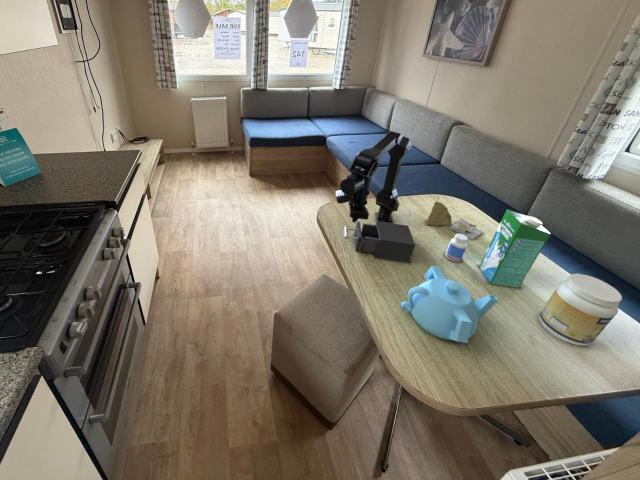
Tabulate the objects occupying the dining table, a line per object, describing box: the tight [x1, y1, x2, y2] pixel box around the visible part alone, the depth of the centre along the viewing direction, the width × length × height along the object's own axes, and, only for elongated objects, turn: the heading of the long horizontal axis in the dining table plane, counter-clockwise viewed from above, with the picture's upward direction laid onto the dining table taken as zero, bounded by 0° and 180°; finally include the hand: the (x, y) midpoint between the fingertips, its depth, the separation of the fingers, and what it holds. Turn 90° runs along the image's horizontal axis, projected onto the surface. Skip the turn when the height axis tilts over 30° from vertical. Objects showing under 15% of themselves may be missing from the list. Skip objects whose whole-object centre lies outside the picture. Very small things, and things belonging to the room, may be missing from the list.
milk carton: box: [479, 209, 551, 288], centre depth 104 cm, size 9×9×25 cm
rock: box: [425, 201, 453, 226], centre depth 137 cm, size 11×9×10 cm
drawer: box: [343, 220, 379, 254], centre depth 121 cm, size 16×11×7 cm
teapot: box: [400, 265, 499, 344], centre depth 90 cm, size 19×19×14 cm
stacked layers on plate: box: [448, 214, 483, 240], centre depth 134 cm, size 10×9×6 cm
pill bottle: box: [445, 233, 469, 263], centre depth 116 cm, size 6×5×10 cm
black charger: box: [374, 220, 416, 264], centre depth 119 cm, size 12×13×9 cm
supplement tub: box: [538, 273, 623, 347], centre depth 87 cm, size 12×12×17 cm
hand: (353, 221), depth 119 cm, fingers closed
